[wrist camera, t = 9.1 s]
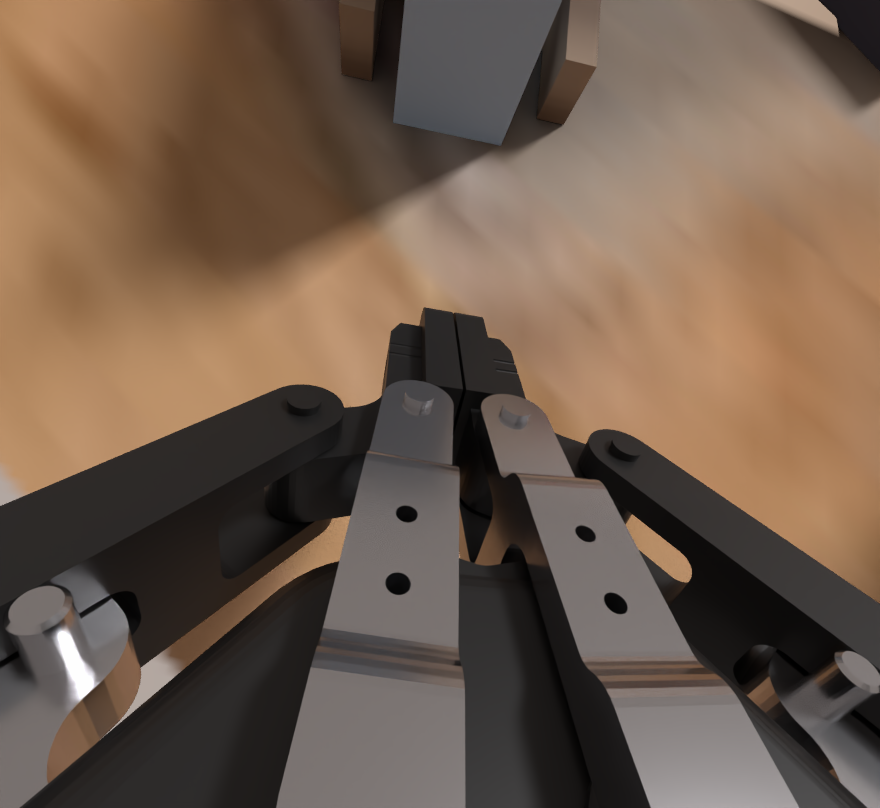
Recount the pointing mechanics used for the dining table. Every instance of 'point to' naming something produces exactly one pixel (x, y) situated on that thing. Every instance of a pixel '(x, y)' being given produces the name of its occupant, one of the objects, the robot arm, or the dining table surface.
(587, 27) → the book rack
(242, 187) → the dining table surface
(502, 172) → the dining table surface
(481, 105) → the loose book
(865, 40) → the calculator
